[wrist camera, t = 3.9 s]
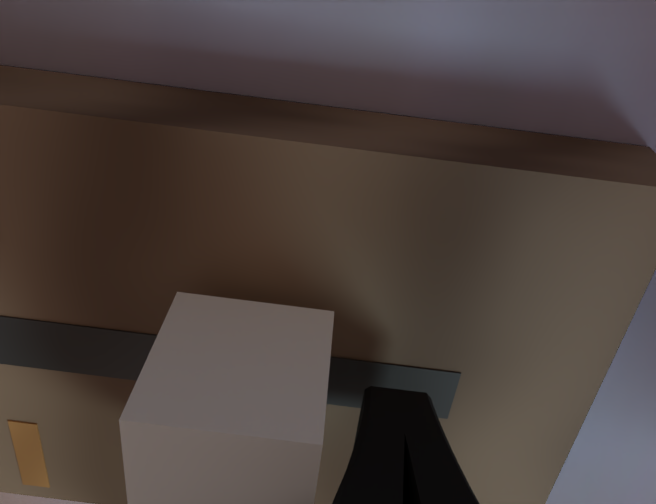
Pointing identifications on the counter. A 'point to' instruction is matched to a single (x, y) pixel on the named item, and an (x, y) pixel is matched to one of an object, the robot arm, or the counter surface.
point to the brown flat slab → (309, 267)
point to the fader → (229, 405)
